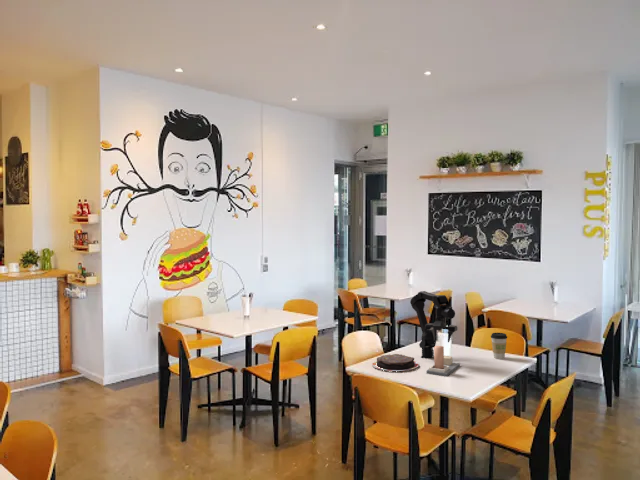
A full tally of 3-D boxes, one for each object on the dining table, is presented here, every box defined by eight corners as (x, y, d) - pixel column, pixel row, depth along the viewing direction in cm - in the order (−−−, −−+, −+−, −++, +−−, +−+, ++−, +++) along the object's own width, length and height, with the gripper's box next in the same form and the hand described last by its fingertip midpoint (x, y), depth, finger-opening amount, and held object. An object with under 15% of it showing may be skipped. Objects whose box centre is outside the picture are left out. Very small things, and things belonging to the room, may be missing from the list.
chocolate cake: (383, 357, 334) (383, 347, 334) (425, 363, 320) (425, 352, 320) (364, 369, 310) (363, 358, 310) (408, 375, 296) (408, 364, 296)
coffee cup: (504, 361, 319) (504, 336, 319) (488, 358, 325) (488, 334, 325) (509, 357, 327) (509, 333, 326) (494, 355, 333) (493, 331, 332)
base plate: (426, 373, 298) (426, 363, 298) (440, 363, 318) (440, 354, 317) (447, 376, 292) (446, 366, 292) (459, 365, 311) (459, 356, 311)
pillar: (433, 368, 302) (433, 346, 302) (442, 368, 303) (442, 345, 302) (436, 370, 297) (435, 348, 297) (445, 370, 297) (444, 347, 297)
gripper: (421, 317, 316) (421, 342, 317) (451, 319, 306) (451, 346, 307) (428, 313, 326) (428, 338, 326) (457, 316, 316) (457, 342, 316)
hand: (441, 341), depth 319 cm, fingers open, 9 cm apart
